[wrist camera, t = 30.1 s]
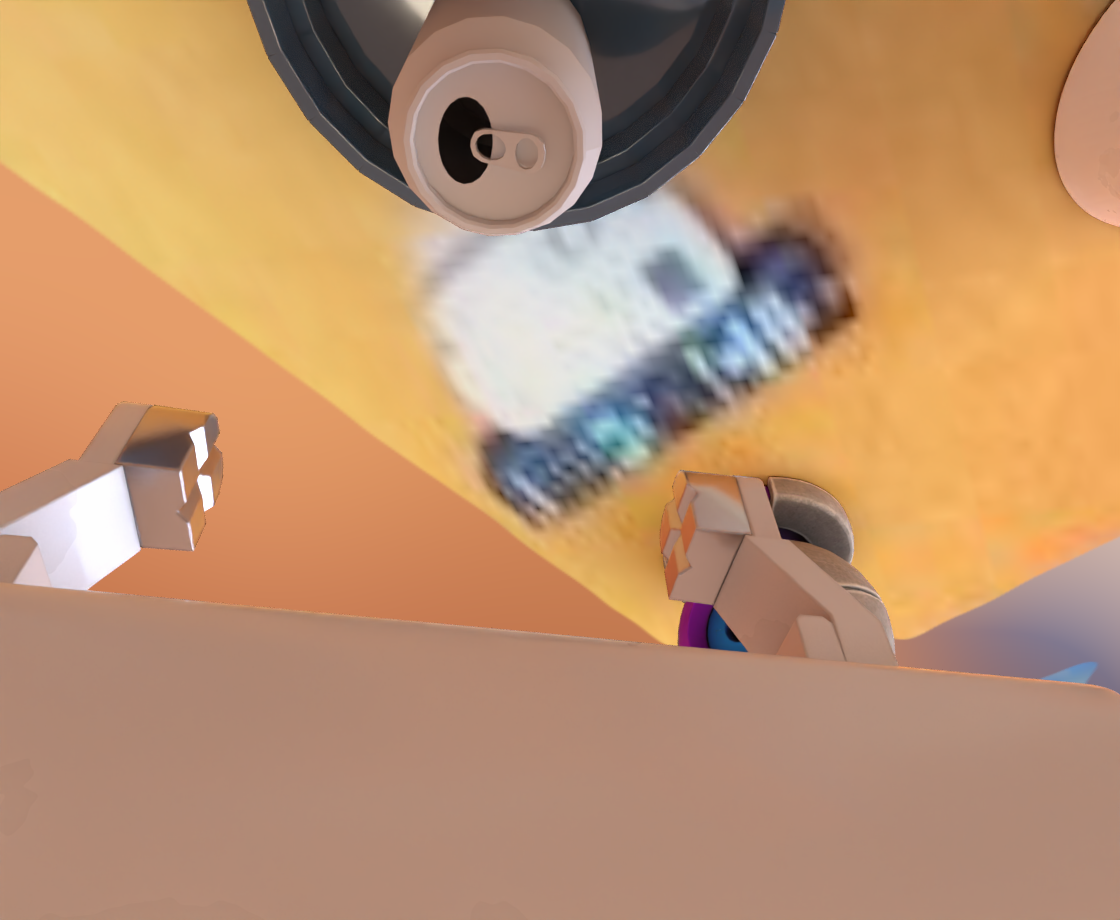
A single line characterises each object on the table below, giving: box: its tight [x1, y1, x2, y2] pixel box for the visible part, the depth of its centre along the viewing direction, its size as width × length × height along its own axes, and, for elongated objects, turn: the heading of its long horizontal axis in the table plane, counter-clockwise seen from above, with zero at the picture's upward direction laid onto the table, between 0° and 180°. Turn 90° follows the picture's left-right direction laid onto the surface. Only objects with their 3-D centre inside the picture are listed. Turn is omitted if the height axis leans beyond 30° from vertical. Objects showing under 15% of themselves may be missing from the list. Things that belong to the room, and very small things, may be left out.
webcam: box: [663, 477, 895, 655], centre depth 52 cm, size 13×13×15 cm
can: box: [388, 0, 602, 236], centre depth 32 cm, size 8×8×12 cm
